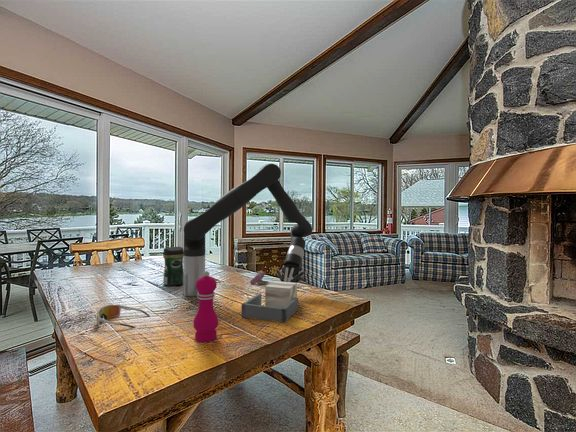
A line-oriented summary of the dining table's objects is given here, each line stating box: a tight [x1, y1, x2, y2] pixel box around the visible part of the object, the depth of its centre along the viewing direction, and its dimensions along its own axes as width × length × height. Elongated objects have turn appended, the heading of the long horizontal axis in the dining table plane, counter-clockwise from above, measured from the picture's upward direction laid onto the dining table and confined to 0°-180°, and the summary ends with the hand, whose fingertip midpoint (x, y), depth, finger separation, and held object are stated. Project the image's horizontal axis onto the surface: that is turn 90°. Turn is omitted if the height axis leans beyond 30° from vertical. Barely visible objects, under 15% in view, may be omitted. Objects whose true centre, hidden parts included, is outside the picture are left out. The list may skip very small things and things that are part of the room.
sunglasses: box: [96, 303, 151, 329], centre depth 109 cm, size 14×15×5 cm
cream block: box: [264, 280, 298, 308], centre depth 130 cm, size 10×10×8 cm
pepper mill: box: [193, 270, 219, 343], centre depth 96 cm, size 7×7×20 cm
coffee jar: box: [162, 246, 184, 287], centre depth 160 cm, size 10×8×19 cm
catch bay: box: [240, 293, 299, 323], centre depth 119 cm, size 15×16×4 cm
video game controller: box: [249, 270, 266, 285], centre depth 167 cm, size 10×5×7 cm, turn 169°
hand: (285, 291), depth 136 cm, fingers closed
